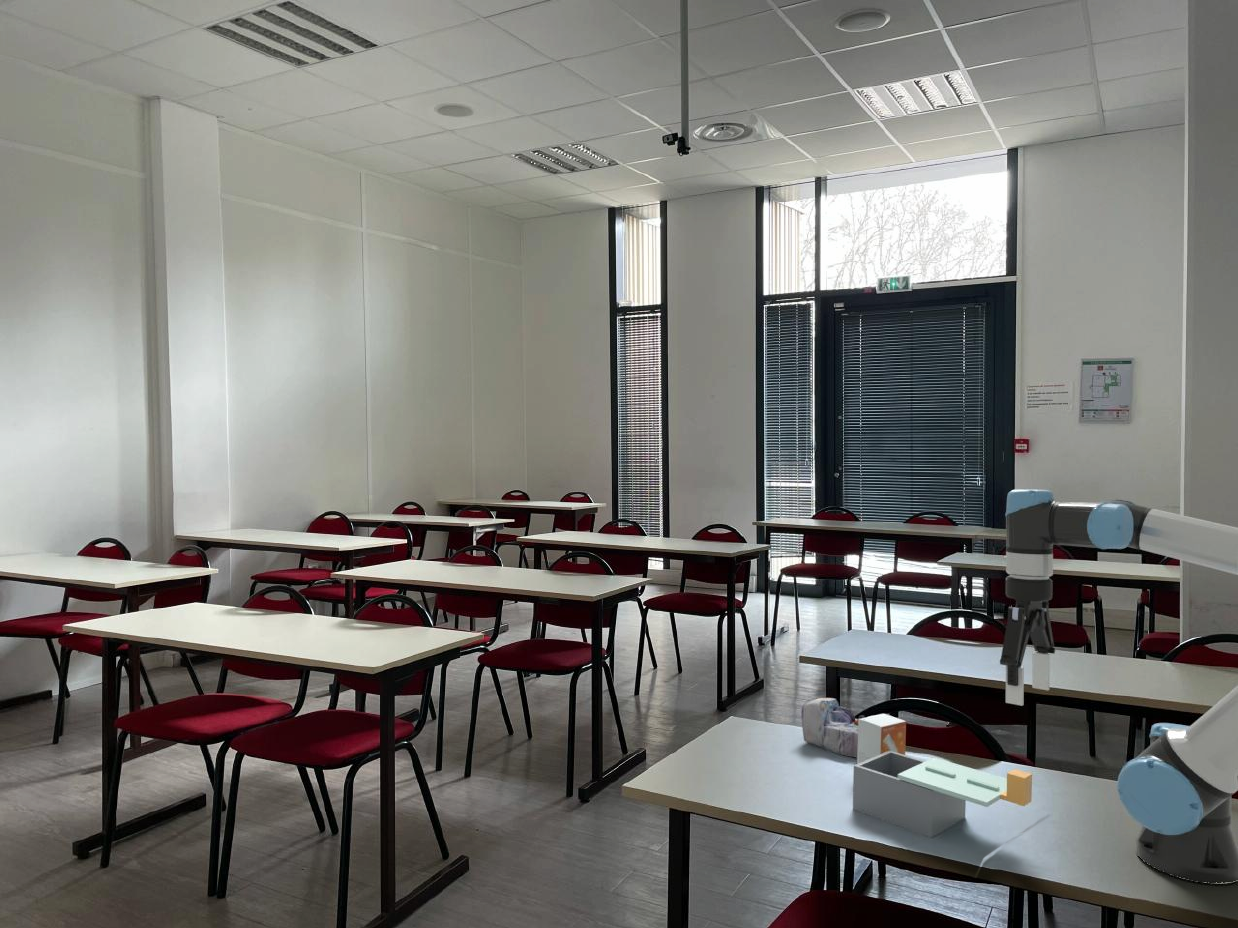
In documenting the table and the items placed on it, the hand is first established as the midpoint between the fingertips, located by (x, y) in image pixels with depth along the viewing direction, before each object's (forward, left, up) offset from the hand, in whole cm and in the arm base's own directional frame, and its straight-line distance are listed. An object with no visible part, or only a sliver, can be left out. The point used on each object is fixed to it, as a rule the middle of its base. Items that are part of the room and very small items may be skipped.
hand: (1028, 696), depth 153 cm
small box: (+33, -7, -27) cm, 43 cm away
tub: (+20, +5, -26) cm, 33 cm away
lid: (+8, +5, -17) cm, 19 cm away
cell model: (+49, -18, -27) cm, 59 cm away
